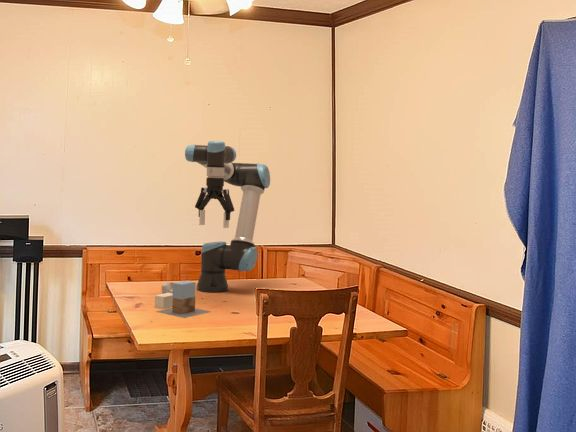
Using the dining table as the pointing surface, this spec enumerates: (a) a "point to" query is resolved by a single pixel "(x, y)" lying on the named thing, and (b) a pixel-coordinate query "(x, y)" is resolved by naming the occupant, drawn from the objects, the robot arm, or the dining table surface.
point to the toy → (167, 287)
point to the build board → (185, 315)
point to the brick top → (183, 289)
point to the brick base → (183, 305)
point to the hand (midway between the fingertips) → (213, 226)
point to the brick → (163, 300)
